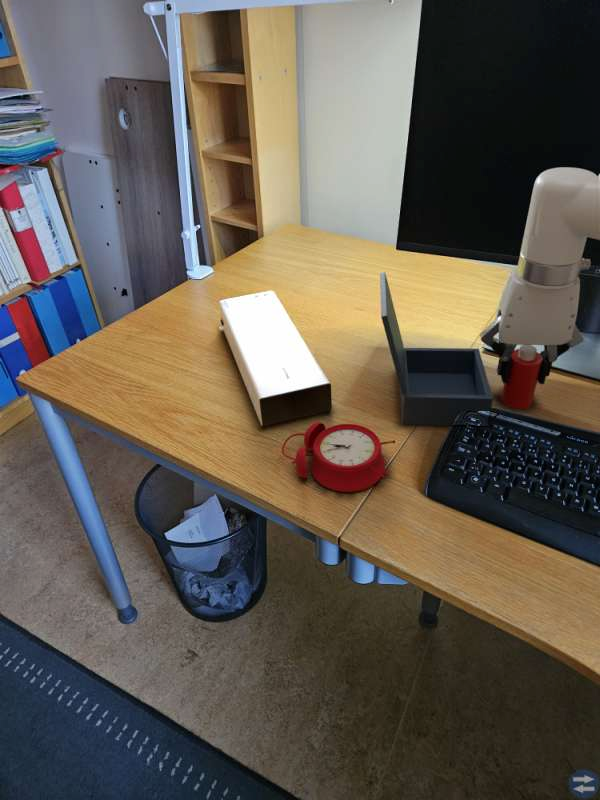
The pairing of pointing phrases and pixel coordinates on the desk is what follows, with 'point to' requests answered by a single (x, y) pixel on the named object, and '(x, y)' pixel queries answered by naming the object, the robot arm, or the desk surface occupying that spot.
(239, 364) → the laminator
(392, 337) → the bin lid
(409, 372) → the bin
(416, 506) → the desk surface
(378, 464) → the alarm clock
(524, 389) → the ketchup bottle
